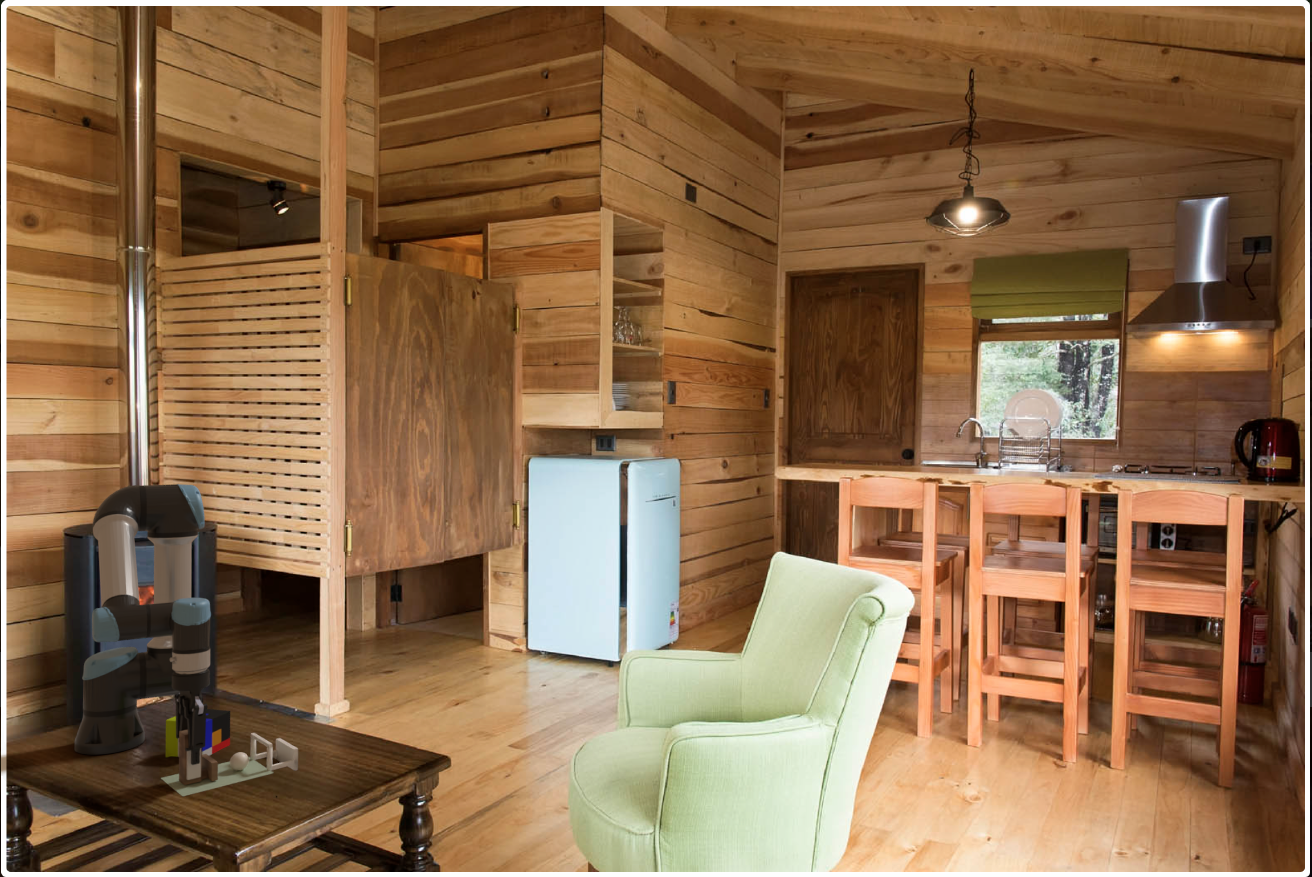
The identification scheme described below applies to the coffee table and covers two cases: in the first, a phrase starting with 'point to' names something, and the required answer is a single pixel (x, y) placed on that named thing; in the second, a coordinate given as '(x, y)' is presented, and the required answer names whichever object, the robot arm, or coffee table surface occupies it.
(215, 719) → the puzzle toy
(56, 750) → the coffee table surface
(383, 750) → the coffee table surface
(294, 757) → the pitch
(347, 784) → the coffee table surface
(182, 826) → the coffee table surface
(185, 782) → the kicker
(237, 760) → the ball
